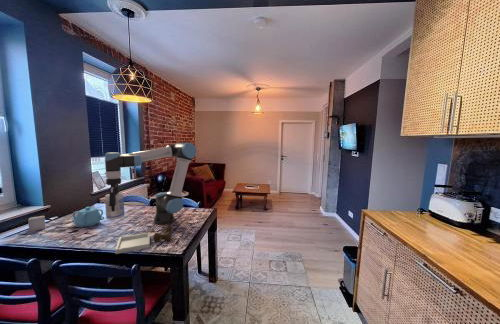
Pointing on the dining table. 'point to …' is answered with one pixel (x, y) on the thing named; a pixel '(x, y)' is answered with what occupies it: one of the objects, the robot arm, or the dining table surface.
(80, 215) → the decorative pot
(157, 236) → the kendama
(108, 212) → the supplement tub
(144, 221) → the dining table surface
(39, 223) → the medicine box
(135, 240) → the sage tray
